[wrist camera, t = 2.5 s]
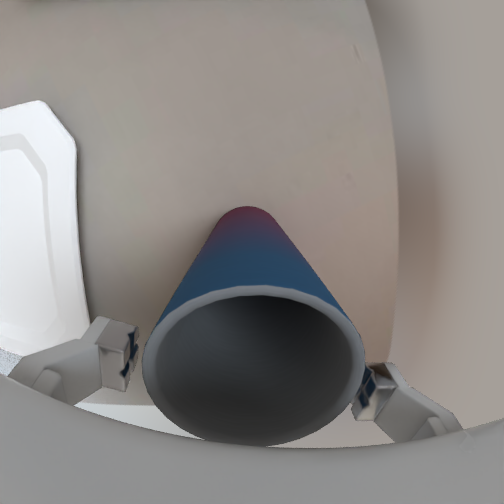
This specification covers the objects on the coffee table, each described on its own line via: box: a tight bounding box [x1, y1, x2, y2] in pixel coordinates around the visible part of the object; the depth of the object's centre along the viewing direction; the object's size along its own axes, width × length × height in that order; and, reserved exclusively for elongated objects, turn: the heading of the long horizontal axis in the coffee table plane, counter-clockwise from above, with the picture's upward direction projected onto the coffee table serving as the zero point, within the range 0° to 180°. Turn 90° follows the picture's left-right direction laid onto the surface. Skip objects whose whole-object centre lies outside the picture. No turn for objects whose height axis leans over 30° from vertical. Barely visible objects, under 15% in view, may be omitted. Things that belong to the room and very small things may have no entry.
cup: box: [142, 206, 365, 447], centre depth 15 cm, size 7×7×15 cm
